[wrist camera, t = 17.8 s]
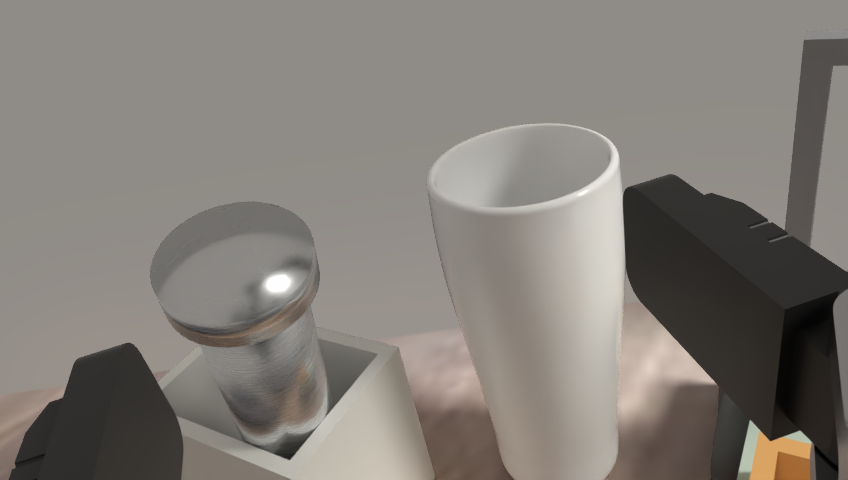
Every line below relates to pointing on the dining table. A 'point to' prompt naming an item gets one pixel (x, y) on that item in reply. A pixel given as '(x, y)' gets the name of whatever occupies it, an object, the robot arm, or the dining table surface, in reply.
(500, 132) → the drinking glass
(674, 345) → the dining table surface
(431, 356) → the dining table surface
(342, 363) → the bin
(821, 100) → the trolley
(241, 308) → the steel pin
